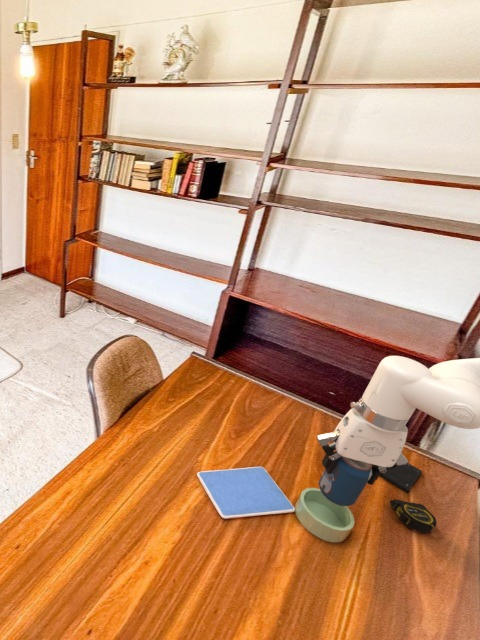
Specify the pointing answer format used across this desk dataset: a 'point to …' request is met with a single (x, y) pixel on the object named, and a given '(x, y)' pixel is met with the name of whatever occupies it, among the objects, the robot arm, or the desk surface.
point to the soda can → (345, 481)
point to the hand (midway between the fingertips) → (346, 473)
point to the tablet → (244, 492)
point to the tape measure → (414, 515)
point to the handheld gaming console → (402, 476)
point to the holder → (323, 516)
